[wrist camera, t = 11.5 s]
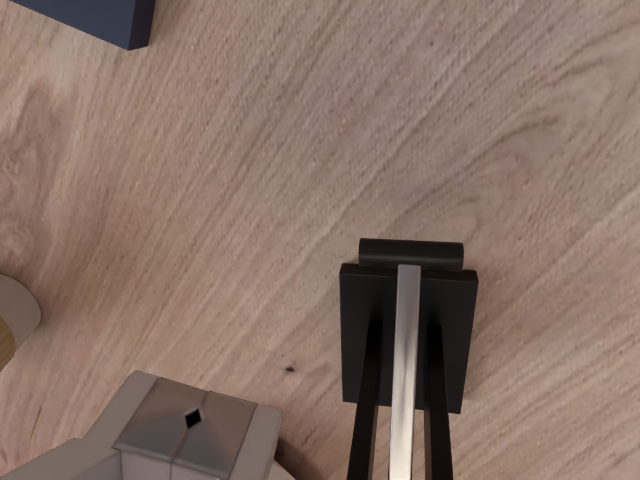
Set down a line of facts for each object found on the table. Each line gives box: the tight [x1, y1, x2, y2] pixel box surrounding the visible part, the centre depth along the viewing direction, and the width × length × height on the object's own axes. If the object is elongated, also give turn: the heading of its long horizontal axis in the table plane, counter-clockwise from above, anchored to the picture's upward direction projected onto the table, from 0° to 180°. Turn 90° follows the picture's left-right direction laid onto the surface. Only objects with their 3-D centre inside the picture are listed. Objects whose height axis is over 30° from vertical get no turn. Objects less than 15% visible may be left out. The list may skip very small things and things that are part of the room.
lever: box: [358, 238, 464, 480], centre depth 23 cm, size 15×5×2 cm
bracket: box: [339, 264, 478, 480], centre depth 28 cm, size 12×9×16 cm
